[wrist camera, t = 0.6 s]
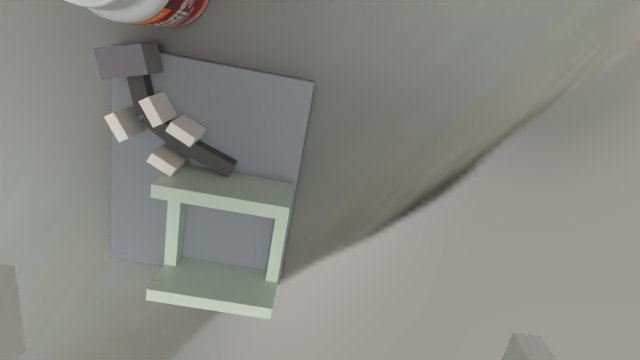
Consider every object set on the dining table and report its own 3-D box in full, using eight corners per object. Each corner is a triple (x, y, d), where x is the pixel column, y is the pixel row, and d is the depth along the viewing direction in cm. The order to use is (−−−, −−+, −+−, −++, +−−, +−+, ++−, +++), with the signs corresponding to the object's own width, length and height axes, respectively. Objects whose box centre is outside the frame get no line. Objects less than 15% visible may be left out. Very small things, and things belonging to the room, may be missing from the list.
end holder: (176, 162, 32) (151, 184, 27) (294, 183, 33) (289, 208, 28) (169, 264, 35) (146, 300, 30) (277, 282, 36) (270, 319, 31)
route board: (120, 34, 30) (89, 33, 26) (316, 72, 31) (315, 77, 27) (116, 250, 36) (91, 276, 32) (280, 276, 37) (275, 305, 33)
